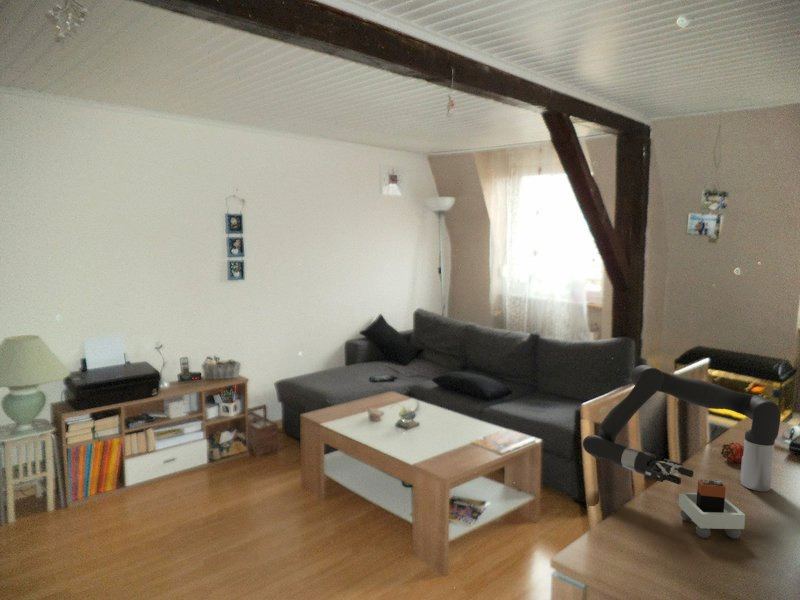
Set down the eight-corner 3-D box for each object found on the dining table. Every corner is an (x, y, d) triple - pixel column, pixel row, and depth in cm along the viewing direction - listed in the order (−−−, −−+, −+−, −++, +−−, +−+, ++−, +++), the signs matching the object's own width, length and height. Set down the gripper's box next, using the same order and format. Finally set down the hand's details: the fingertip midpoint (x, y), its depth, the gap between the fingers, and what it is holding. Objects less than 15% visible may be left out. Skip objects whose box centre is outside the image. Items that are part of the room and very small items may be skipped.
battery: (723, 515, 171) (726, 484, 169) (699, 512, 172) (702, 482, 171) (719, 508, 175) (721, 478, 174) (695, 506, 176) (697, 476, 175)
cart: (677, 516, 181) (679, 492, 180) (717, 517, 181) (719, 493, 180) (699, 540, 167) (701, 514, 166) (743, 541, 167) (745, 515, 166)
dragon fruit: (723, 468, 224) (736, 465, 231) (743, 461, 218) (756, 458, 225) (713, 447, 227) (726, 445, 234) (732, 440, 222) (746, 438, 229)
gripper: (628, 455, 186) (677, 472, 174) (649, 446, 195) (697, 461, 182) (627, 477, 187) (675, 495, 175) (648, 466, 196) (696, 482, 183)
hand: (686, 477), depth 178 cm, fingers open, 8 cm apart
